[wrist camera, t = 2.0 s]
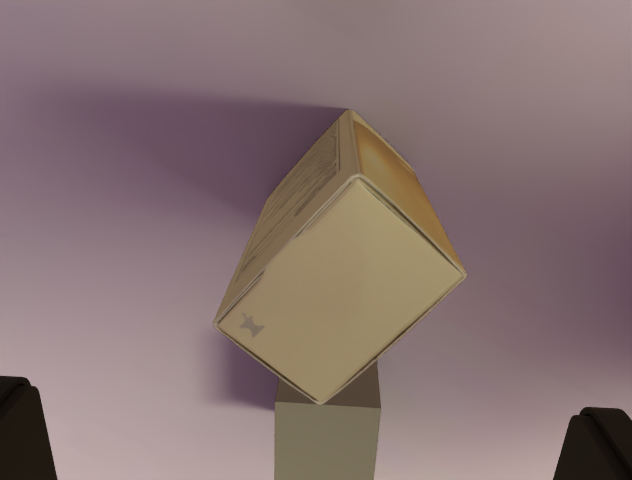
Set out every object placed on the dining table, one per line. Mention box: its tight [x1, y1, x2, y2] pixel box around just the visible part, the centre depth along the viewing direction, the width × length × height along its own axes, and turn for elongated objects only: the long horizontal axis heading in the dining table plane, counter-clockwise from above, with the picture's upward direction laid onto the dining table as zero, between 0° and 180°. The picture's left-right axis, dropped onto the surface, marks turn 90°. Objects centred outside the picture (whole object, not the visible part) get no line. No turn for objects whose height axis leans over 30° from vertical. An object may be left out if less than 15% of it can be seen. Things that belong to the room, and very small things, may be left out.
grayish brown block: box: [274, 360, 381, 480], centre depth 28 cm, size 5×5×5 cm
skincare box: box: [213, 109, 467, 405], centre depth 20 cm, size 6×4×12 cm
